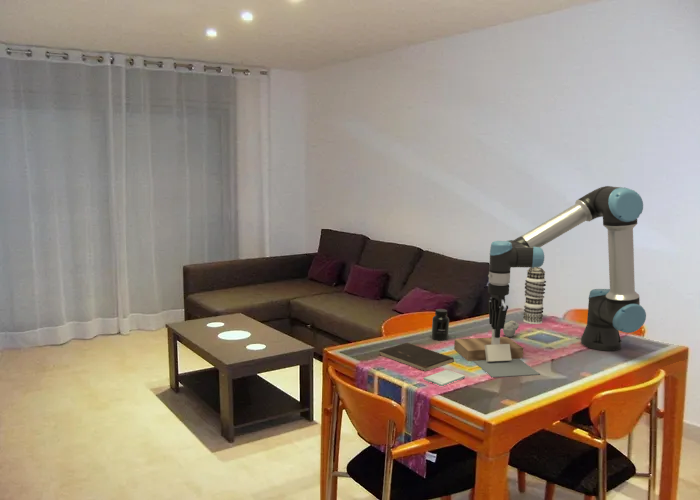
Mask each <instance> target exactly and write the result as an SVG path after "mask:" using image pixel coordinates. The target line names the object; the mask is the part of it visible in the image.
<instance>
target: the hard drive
mask: <svg viewBox="0 0 700 500" xmlns="http://www.w3.org/2000/svg"><path fill="white" fill-rule="evenodd" d="M463 378H465V379H466V375H464V374H461V373H459V372H455V371H453V370H450V369H444V370H441V371H439V372H436V373H433V374H430V375H427V376H425V377H423V378H422V380H423V379H424V380H426V381H428V382H427V383H429V382H432V383H434V384H437V385H439V386H444V385H447V384H449V383H452V382H454V381H457V380H460V381H462V380H464V379H463ZM461 379H462V380H461ZM426 381H425V382H426ZM457 382H458V381H457ZM434 384H433V385H434ZM452 384H453V383H452ZM437 385H436V386H437ZM449 385H450V384H449ZM439 386H438V387H439ZM447 386H448V385H447ZM444 387H445V386H444Z"/></svg>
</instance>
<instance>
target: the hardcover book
mask: <svg viewBox="0 0 700 500" xmlns="http://www.w3.org/2000/svg"><path fill="white" fill-rule="evenodd" d="M379 352H380V356H382V357H385V358H388V359H390V360H392V361H396V362H398V363H401V364H404V365H408V366H409V365H410V366H409V367H412V366H413V367H412V368H415V367H416V368H415V369H417V368H418V370H420V369H421V371H423V370H424V371H423V372H428V371H431V370H434V369H436V367H437V368H439V367H442V366H446V365H448V364H452V363H454V362H455V358H454V357H453V356H449V355H446V354H443V353H440V352H438V351H437V352H436V351H433V350H431V349H428V348H425V347H422V346H419V345H416V344H413V343H410V342H403V343H400V344H397V345H394V346H390V347H387V348H384V349H381V350H379ZM433 368H434V369H433ZM430 369H431V370H430ZM427 370H428V371H427Z"/></svg>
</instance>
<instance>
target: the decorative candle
mask: <svg viewBox="0 0 700 500" xmlns="http://www.w3.org/2000/svg"><path fill="white" fill-rule="evenodd" d="M526 273H527V274H526V275H527V276H526V279H525V283H524V285H525V286H524V289H525V290H524V297H525V302H524V305H523V307H524V309H523V311H524V312H523V316H522V317H523V320H522V321H523V322H524V323H525V324H530V325H539V324H540V325H541V324H543V320H544V319H543V317H544V315H543V313H544V311H543V310H544V298H545V296H544V295H545V294H546V292H545V291H546V288H545V286H547V285H546V283H547V280H546V279H545V275H546V271H545V270H544V269H543V268H542V267H534V268H532V267H528V269H527V270H526Z"/></svg>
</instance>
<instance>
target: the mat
mask: <svg viewBox="0 0 700 500" xmlns="http://www.w3.org/2000/svg"><path fill="white" fill-rule="evenodd" d="M473 362H474V363H475V365H477V366H478V368H480V367H481V368H482V369H481V368H480V369H481V370H483V372H484V373H486V372H487V373H488V374H489V375H490V376H491V378H492V377H493V378H508V377H509V378H510V377H521V376H522V377H526V376H541V373H539V372H538V370H536V369H534V368H532V366H530V365H528V364H527V363H526V362H525V361H523V360H522V359H521V358H517V359H512V360H510V361H495V362H486V360H480V361H473ZM487 373H486V374H487ZM488 374H487V375H488ZM489 375H488V376H489ZM490 376H489V377H490Z"/></svg>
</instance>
